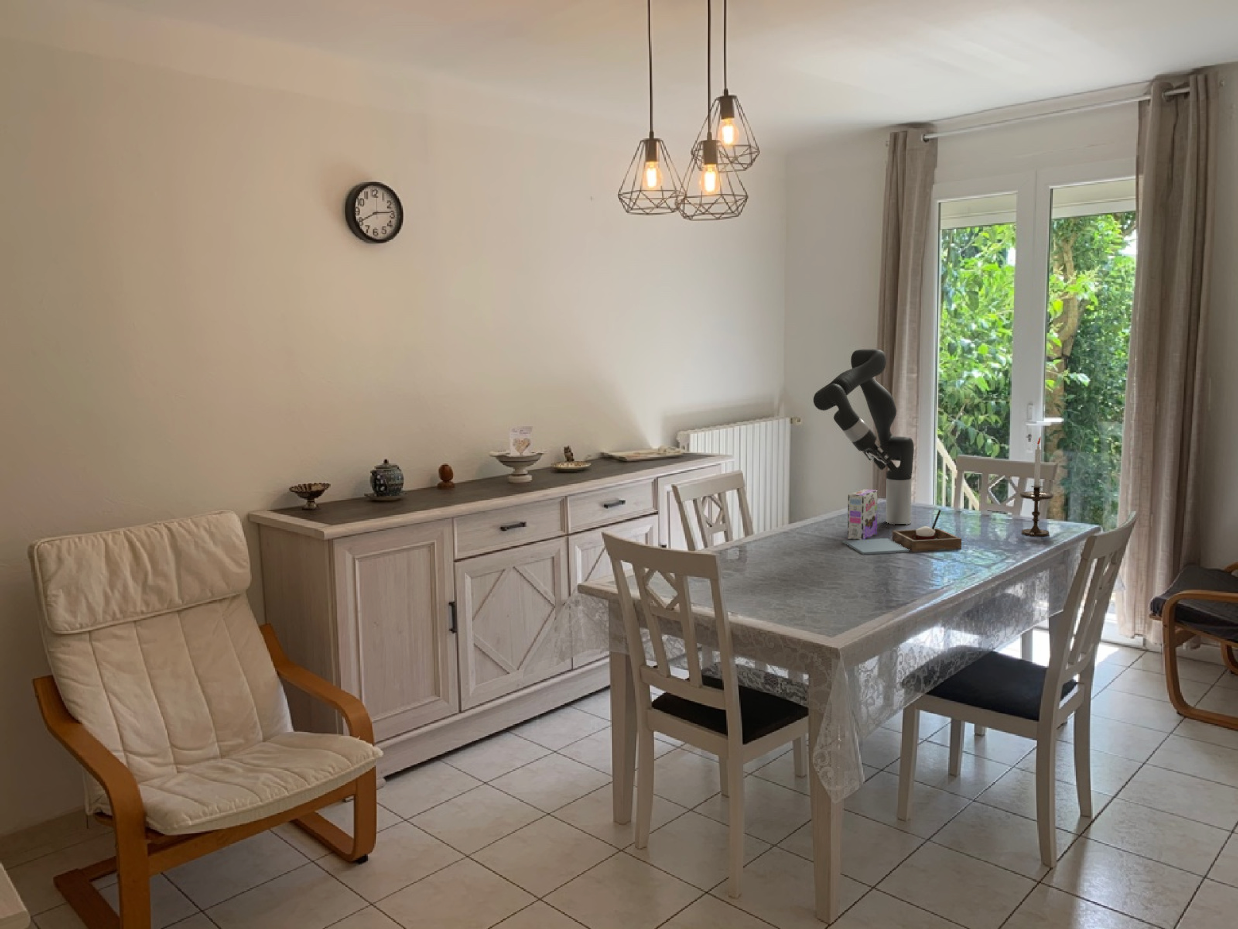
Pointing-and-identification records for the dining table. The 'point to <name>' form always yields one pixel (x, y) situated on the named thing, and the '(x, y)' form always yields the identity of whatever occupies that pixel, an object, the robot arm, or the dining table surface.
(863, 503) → the candy box
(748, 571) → the dining table surface
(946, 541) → the bin
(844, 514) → the dining table surface
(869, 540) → the board
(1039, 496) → the candlestick
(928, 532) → the cocoa
